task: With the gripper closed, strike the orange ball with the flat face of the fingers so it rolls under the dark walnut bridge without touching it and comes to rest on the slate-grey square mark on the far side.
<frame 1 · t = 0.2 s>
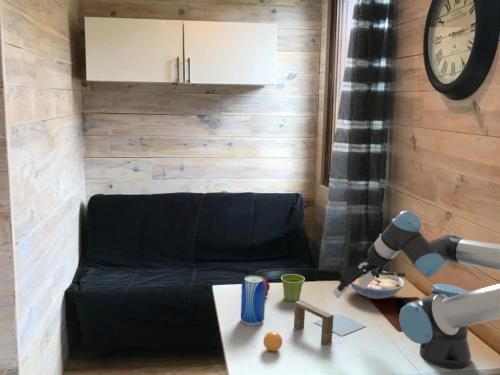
hand: (349, 290, 177), 16 cm above the table, tool tilted 35°, fingers open, 13 cm apart
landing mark: (339, 324, 186), on the table
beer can: (252, 321, 187), on the table
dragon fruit: (258, 296, 210), on the table
ramen bowl: (373, 296, 214), on the table
ball: (272, 341, 166), on the table
bridge: (312, 335, 178), on the table
plant pot: (291, 299, 208), on the table
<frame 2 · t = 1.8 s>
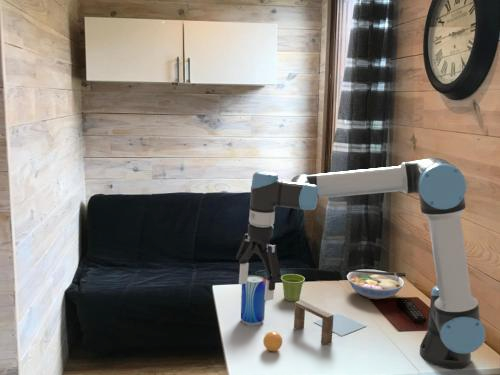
hand: (255, 291, 159), 21 cm above the table, tool pointing down, fingers open, 13 cm apart
nothing on the table moved.
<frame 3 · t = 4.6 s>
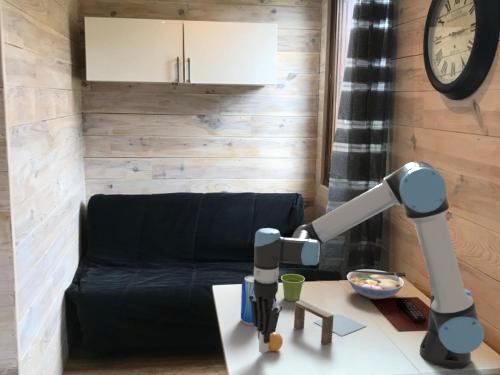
hand: (263, 351, 163), 1 cm above the table, tool pointing down, fingers closed
ball: (273, 341, 166), on the table, touching gripper
everything else where it was.
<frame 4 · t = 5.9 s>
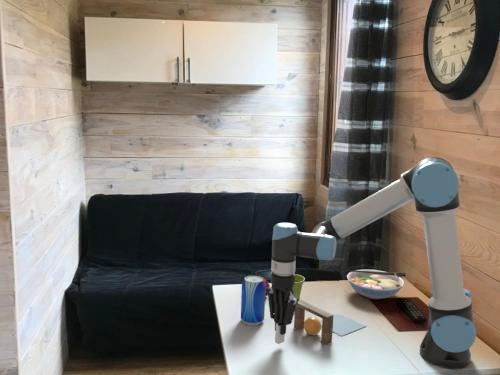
hand: (279, 342, 168), 2 cm above the table, tool pointing down, fingers closed
ball: (312, 326, 178), on the table
everything else where it was.
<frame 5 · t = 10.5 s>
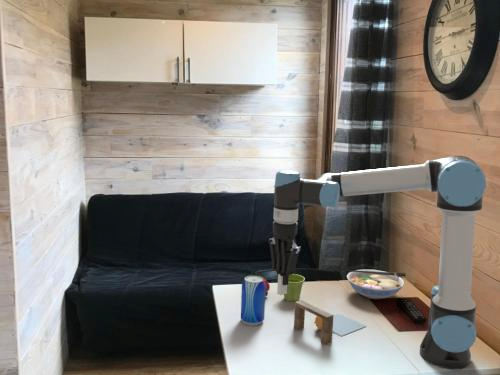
hand: (282, 293, 165), 18 cm above the table, tool pointing down, fingers closed
ball: (323, 321, 181), on the table
everything else where it was.
at the end: ball 8.0 cm from the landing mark (horizontally); ball never touched bridge; ball at rest at the end (0.0 cm/s) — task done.
